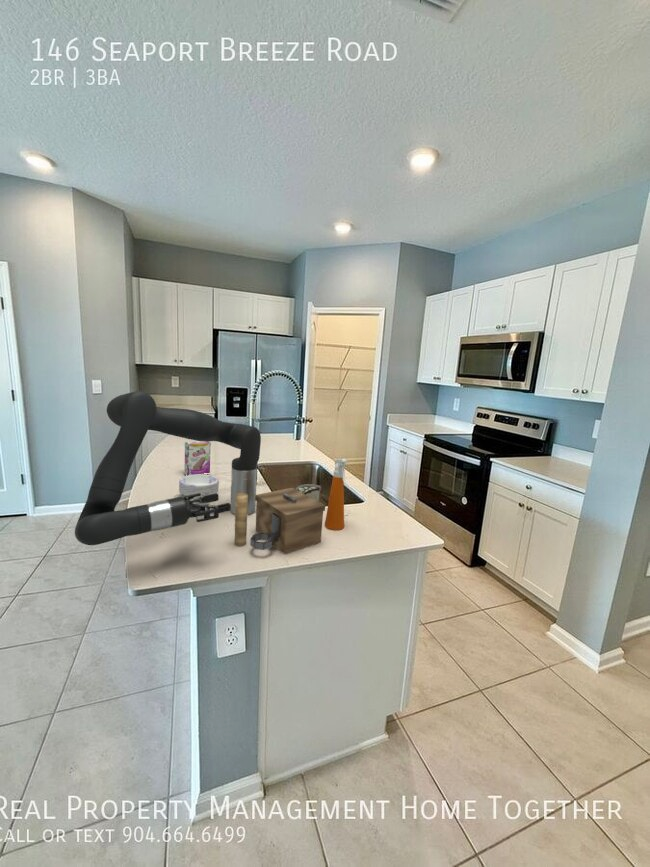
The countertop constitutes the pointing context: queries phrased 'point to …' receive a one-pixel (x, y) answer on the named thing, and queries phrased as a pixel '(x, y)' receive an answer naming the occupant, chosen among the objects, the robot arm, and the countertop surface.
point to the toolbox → (290, 518)
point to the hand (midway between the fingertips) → (223, 501)
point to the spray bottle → (336, 498)
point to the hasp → (267, 535)
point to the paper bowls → (198, 484)
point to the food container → (310, 490)
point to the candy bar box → (197, 457)
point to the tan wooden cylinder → (241, 519)
